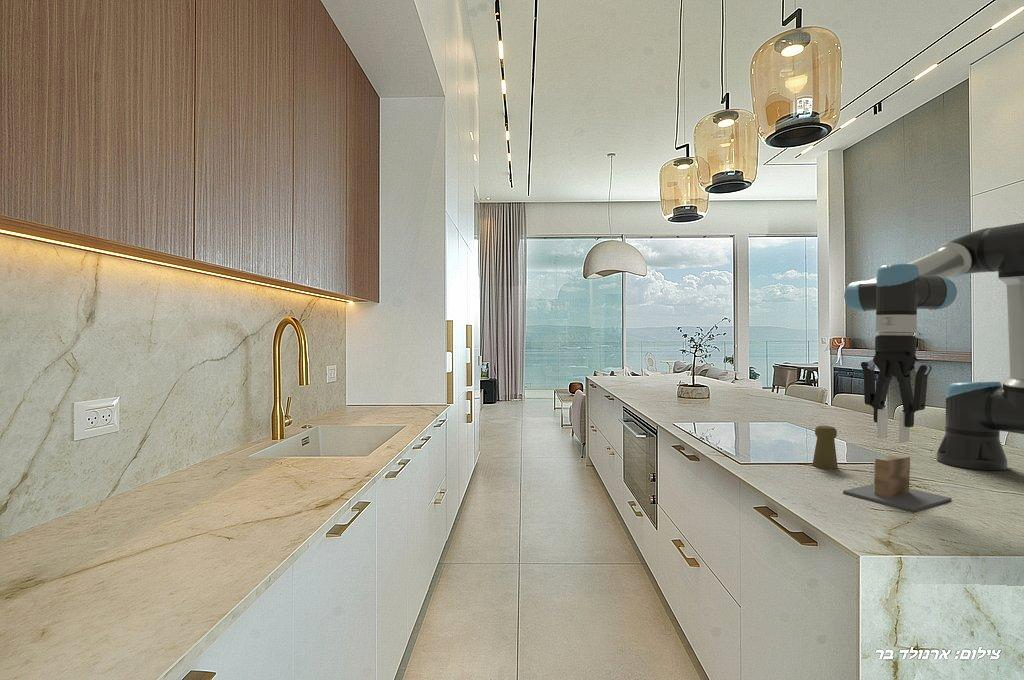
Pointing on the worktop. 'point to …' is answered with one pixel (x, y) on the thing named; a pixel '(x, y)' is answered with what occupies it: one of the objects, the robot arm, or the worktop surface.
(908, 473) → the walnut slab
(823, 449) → the cork
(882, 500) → the mat
